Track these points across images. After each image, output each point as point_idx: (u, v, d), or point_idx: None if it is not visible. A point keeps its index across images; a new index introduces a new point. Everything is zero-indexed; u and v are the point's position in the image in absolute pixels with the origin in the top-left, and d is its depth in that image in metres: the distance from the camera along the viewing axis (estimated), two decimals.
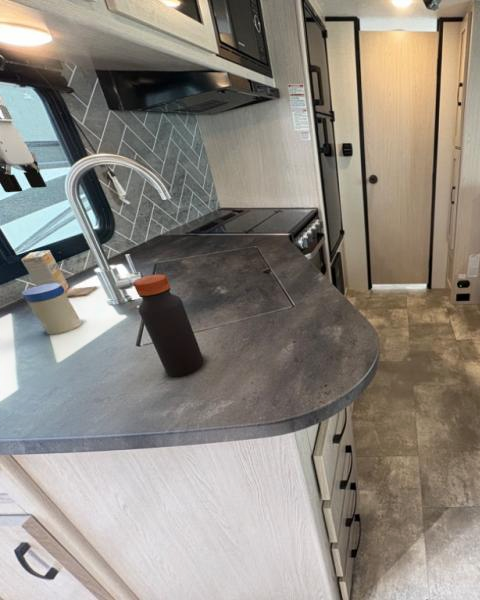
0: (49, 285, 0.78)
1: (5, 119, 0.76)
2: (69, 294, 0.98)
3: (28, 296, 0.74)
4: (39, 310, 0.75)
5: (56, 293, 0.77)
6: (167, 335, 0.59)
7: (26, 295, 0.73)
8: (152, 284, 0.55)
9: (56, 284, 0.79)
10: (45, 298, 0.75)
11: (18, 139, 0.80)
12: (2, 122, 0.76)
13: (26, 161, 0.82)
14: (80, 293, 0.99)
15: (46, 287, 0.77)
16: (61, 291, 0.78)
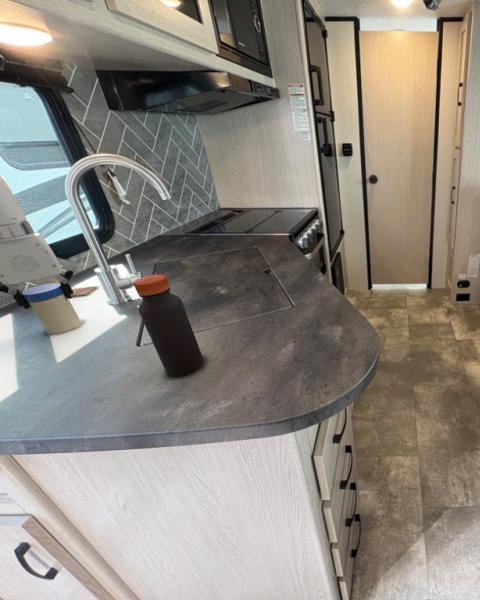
0: (49, 285, 0.78)
1: None
2: None
3: (28, 296, 0.74)
4: (39, 310, 0.75)
5: (56, 293, 0.77)
6: (167, 335, 0.59)
7: (26, 295, 0.73)
8: (152, 284, 0.55)
9: (56, 284, 0.79)
10: (45, 298, 0.75)
11: None
12: None
13: None
14: (80, 293, 0.99)
15: (46, 287, 0.77)
16: (61, 291, 0.78)
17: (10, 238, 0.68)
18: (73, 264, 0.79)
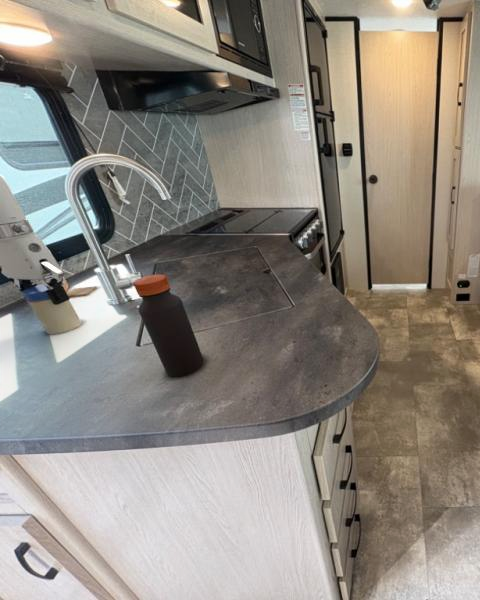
0: (30, 290, 0.75)
1: None
2: (69, 294, 0.98)
3: None
4: (39, 310, 0.75)
5: None
6: (167, 335, 0.59)
7: None
8: (152, 284, 0.55)
9: (28, 289, 0.76)
10: None
11: (15, 257, 0.70)
12: None
13: (27, 277, 0.73)
14: (80, 293, 0.99)
15: (37, 288, 0.76)
16: None
17: None
18: None
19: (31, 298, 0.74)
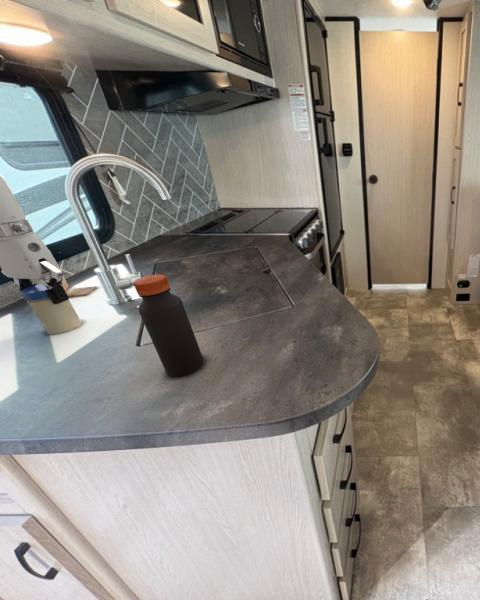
0: (46, 288, 0.76)
1: None
2: (69, 294, 0.98)
3: None
4: (39, 310, 0.75)
5: (24, 297, 0.74)
6: (167, 335, 0.59)
7: None
8: (152, 284, 0.55)
9: (41, 290, 0.74)
10: None
11: (14, 256, 0.70)
12: None
13: (26, 277, 0.73)
14: (80, 293, 0.99)
15: (40, 288, 0.76)
16: (29, 298, 0.74)
17: None
18: None
19: None
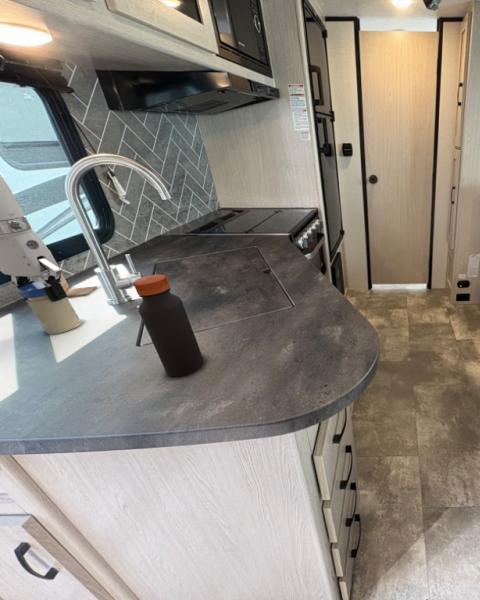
0: None
1: None
2: (69, 294, 0.98)
3: (31, 292, 0.73)
4: (38, 310, 0.75)
5: None
6: (167, 335, 0.59)
7: (28, 291, 0.73)
8: (152, 284, 0.55)
9: None
10: None
11: (12, 253, 0.70)
12: None
13: (24, 274, 0.72)
14: (80, 293, 0.99)
15: None
16: None
17: None
18: None
19: None
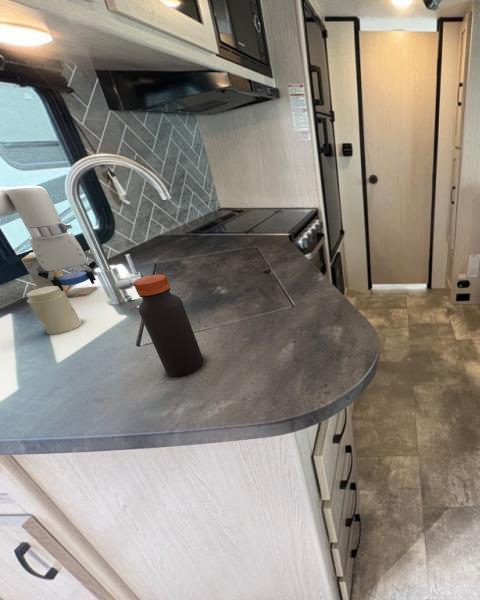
0: (67, 275, 0.99)
1: (44, 237, 0.89)
2: (69, 294, 0.98)
3: (80, 277, 0.97)
4: (39, 310, 0.75)
5: None
6: (167, 335, 0.59)
7: (78, 277, 0.97)
8: (152, 284, 0.55)
9: (71, 273, 1.00)
10: None
11: (66, 248, 0.94)
12: (47, 238, 0.90)
13: (72, 264, 0.96)
14: (80, 293, 0.99)
15: (72, 274, 0.99)
16: None
17: None
18: None
19: None
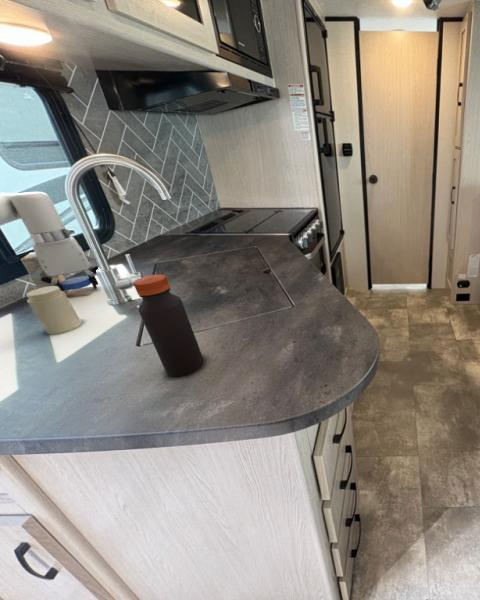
0: (70, 279, 0.99)
1: (47, 243, 0.90)
2: (69, 294, 0.98)
3: (83, 282, 0.98)
4: (39, 310, 0.75)
5: None
6: (167, 335, 0.59)
7: (81, 282, 0.98)
8: (152, 284, 0.55)
9: (73, 278, 1.00)
10: (90, 282, 1.01)
11: (69, 253, 0.94)
12: (50, 244, 0.91)
13: (74, 269, 0.97)
14: (80, 293, 0.99)
15: (75, 279, 0.99)
16: None
17: None
18: None
19: None
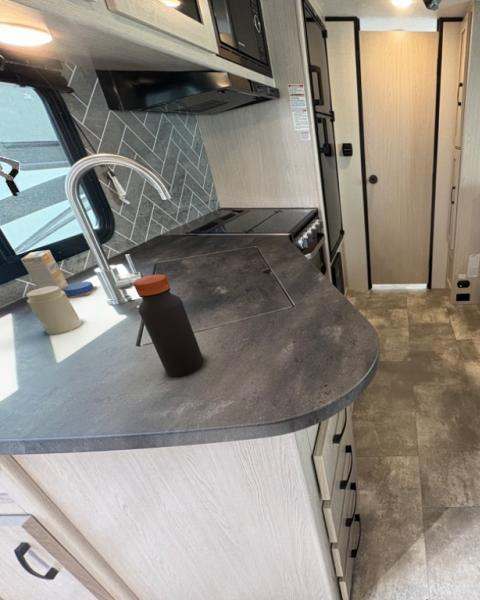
0: (72, 285, 1.00)
1: None
2: None
3: (85, 288, 0.99)
4: (39, 310, 0.75)
5: None
6: (167, 335, 0.59)
7: (83, 287, 0.99)
8: (152, 284, 0.55)
9: (76, 283, 1.01)
10: (93, 287, 1.02)
11: None
12: None
13: None
14: None
15: (77, 284, 1.00)
16: None
17: None
18: None
19: None
